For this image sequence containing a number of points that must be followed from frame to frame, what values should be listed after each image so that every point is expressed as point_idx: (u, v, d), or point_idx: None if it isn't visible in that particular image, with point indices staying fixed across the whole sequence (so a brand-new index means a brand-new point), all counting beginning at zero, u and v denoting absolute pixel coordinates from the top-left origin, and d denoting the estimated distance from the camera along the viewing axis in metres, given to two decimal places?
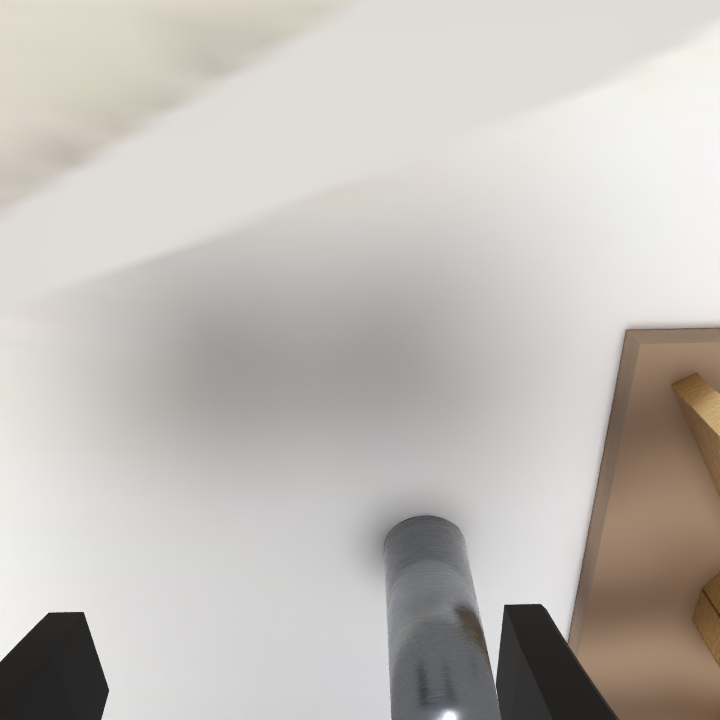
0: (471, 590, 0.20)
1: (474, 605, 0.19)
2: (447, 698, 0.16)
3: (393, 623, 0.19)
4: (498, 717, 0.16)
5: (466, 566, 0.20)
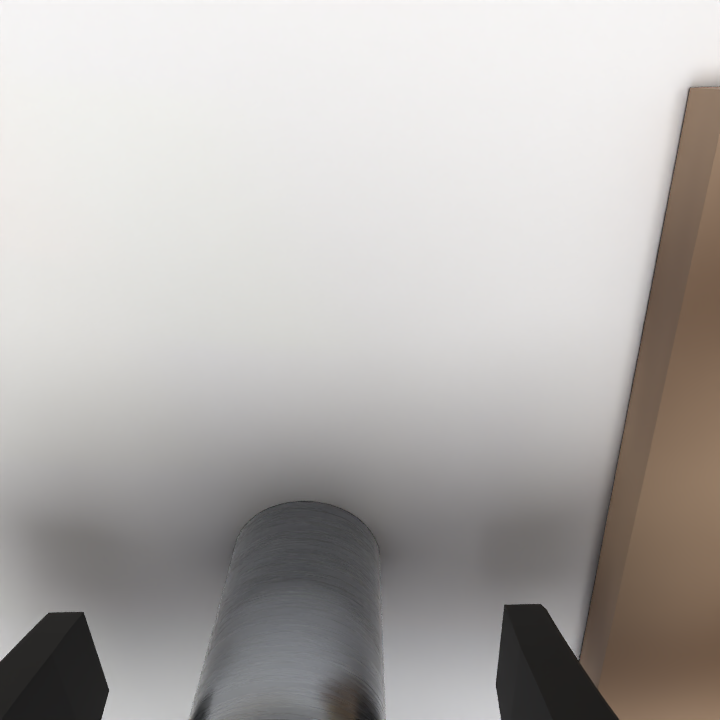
0: (367, 648, 0.10)
1: (368, 684, 0.09)
2: None
3: None
4: None
5: (367, 597, 0.10)
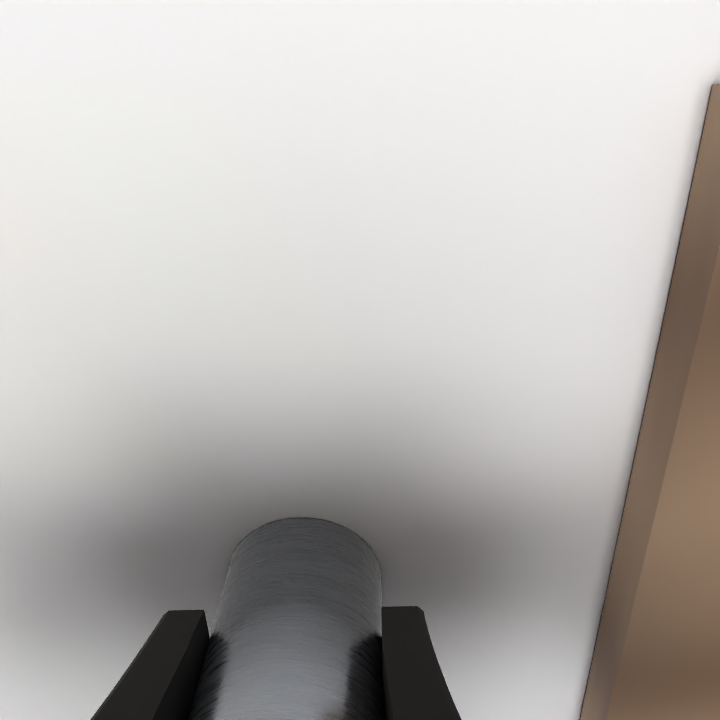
0: (368, 678, 0.09)
1: (368, 718, 0.08)
2: None
3: None
4: None
5: (368, 621, 0.10)
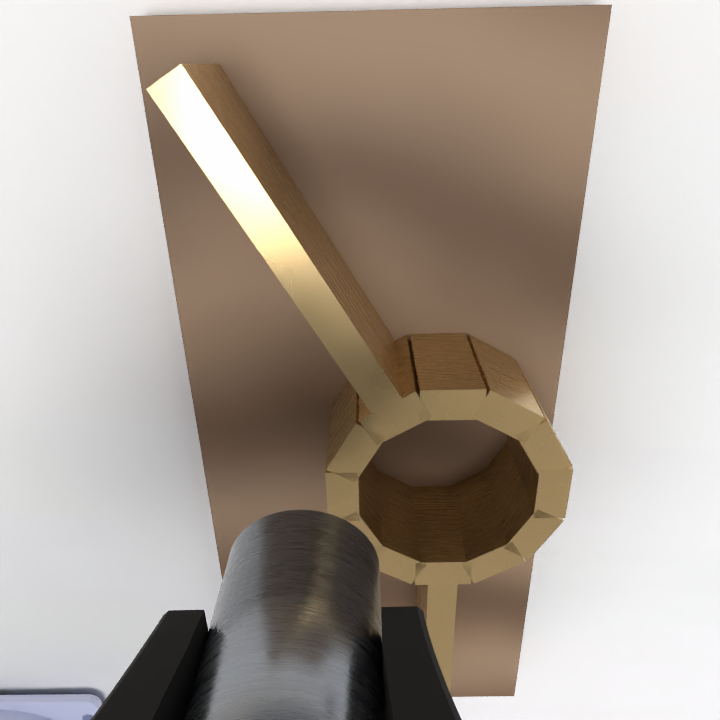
0: (365, 666, 0.09)
1: (366, 705, 0.09)
2: None
3: None
4: None
5: (366, 611, 0.10)
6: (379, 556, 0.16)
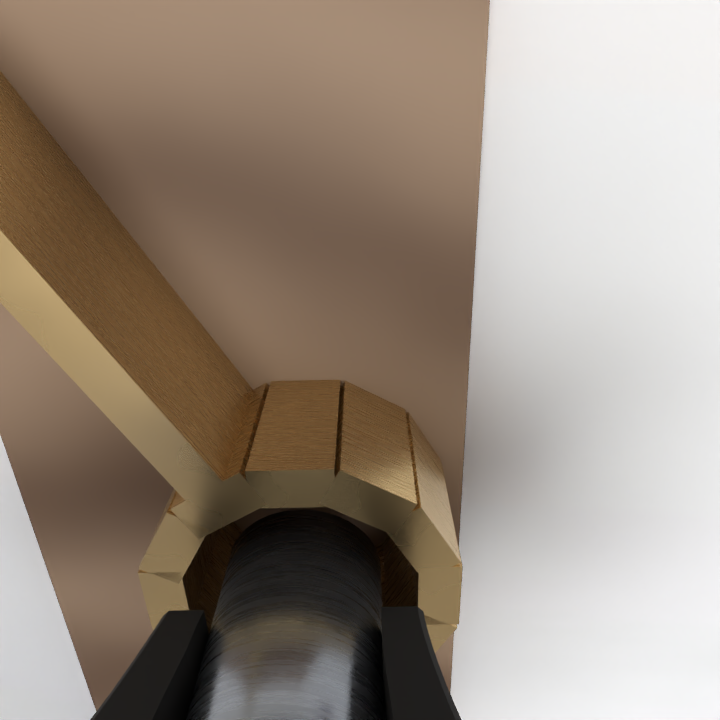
0: (367, 666, 0.09)
1: (368, 705, 0.09)
2: None
3: None
4: None
5: (367, 611, 0.10)
6: None
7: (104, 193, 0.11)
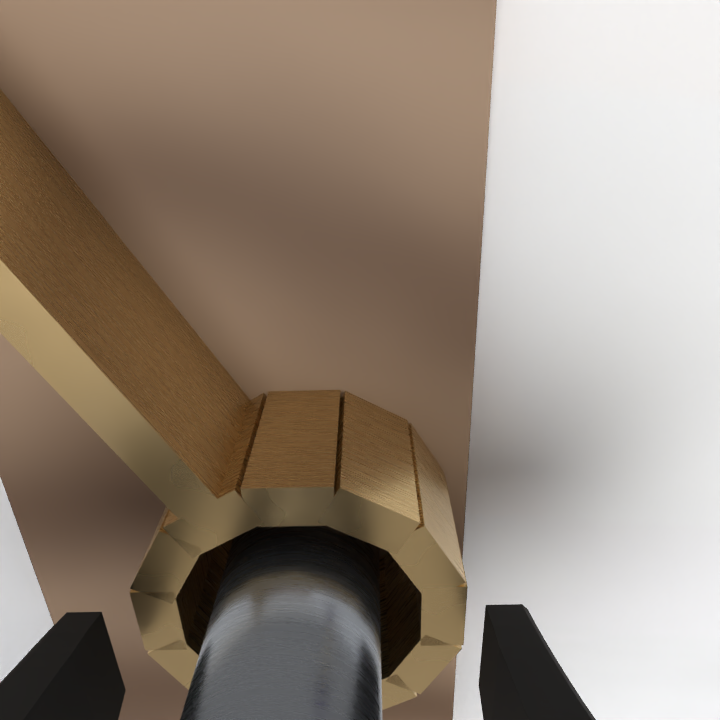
0: (364, 563, 0.11)
1: (364, 589, 0.10)
2: None
3: (210, 621, 0.10)
4: None
5: None
6: None
7: (94, 197, 0.11)
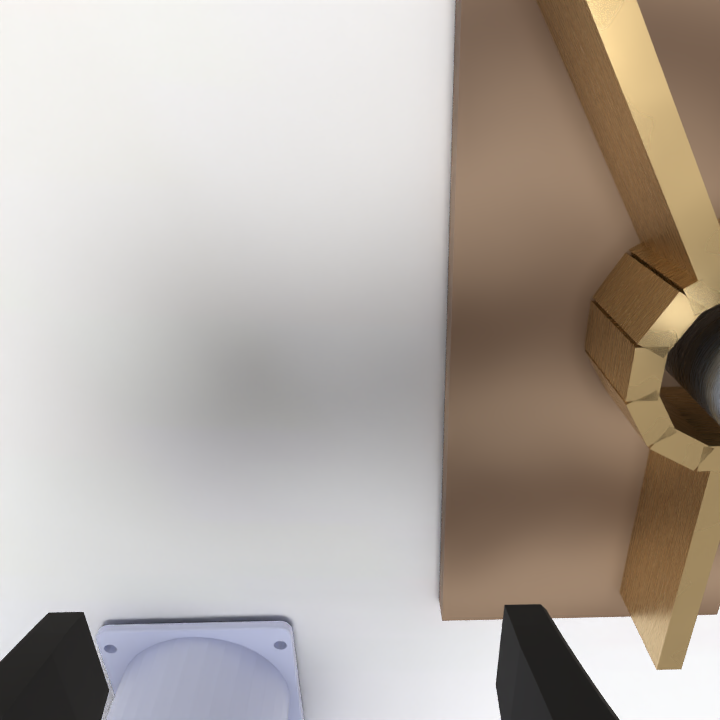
0: None
1: None
2: None
3: None
4: None
5: None
6: (668, 440, 0.16)
7: None
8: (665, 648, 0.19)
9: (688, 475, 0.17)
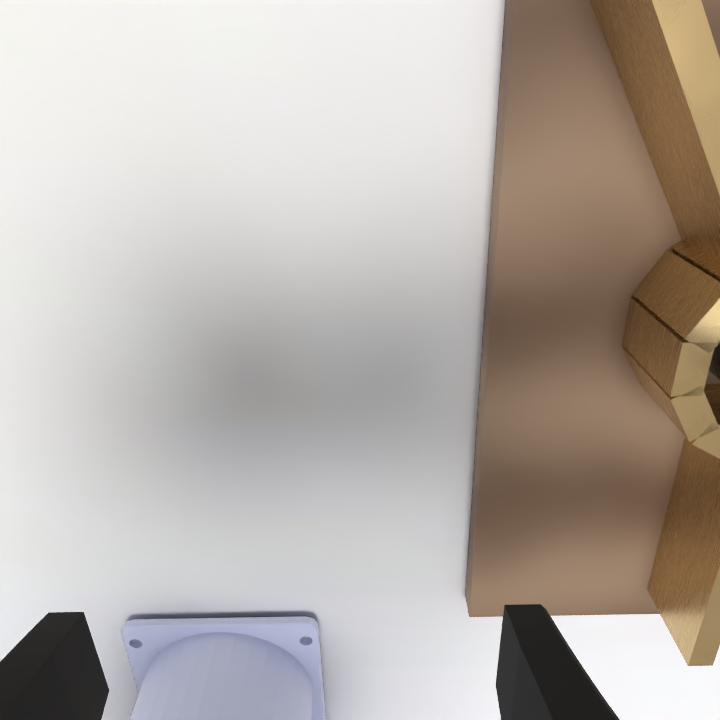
0: None
1: None
2: None
3: None
4: None
5: None
6: (711, 435, 0.16)
7: None
8: (697, 644, 0.19)
9: None
